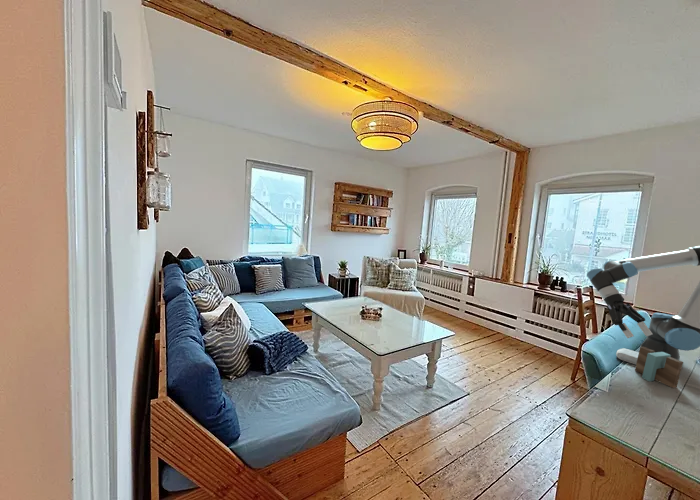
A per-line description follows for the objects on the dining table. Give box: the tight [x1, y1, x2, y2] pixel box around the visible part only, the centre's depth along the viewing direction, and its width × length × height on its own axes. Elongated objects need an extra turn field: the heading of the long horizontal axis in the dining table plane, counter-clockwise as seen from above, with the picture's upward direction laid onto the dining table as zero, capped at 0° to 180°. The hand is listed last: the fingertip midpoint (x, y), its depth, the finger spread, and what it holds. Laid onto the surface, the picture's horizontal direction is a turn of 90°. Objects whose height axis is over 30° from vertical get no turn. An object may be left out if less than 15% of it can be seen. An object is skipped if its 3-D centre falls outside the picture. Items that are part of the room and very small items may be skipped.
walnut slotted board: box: [634, 346, 684, 389], centre depth 136 cm, size 2×14×12 cm, turn 17°
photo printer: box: [615, 348, 639, 366], centre depth 152 cm, size 10×4×12 cm
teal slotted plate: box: [641, 352, 671, 382], centre depth 136 cm, size 10×3×12 cm, turn 106°
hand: (640, 336), depth 142 cm, fingers open, 13 cm apart
